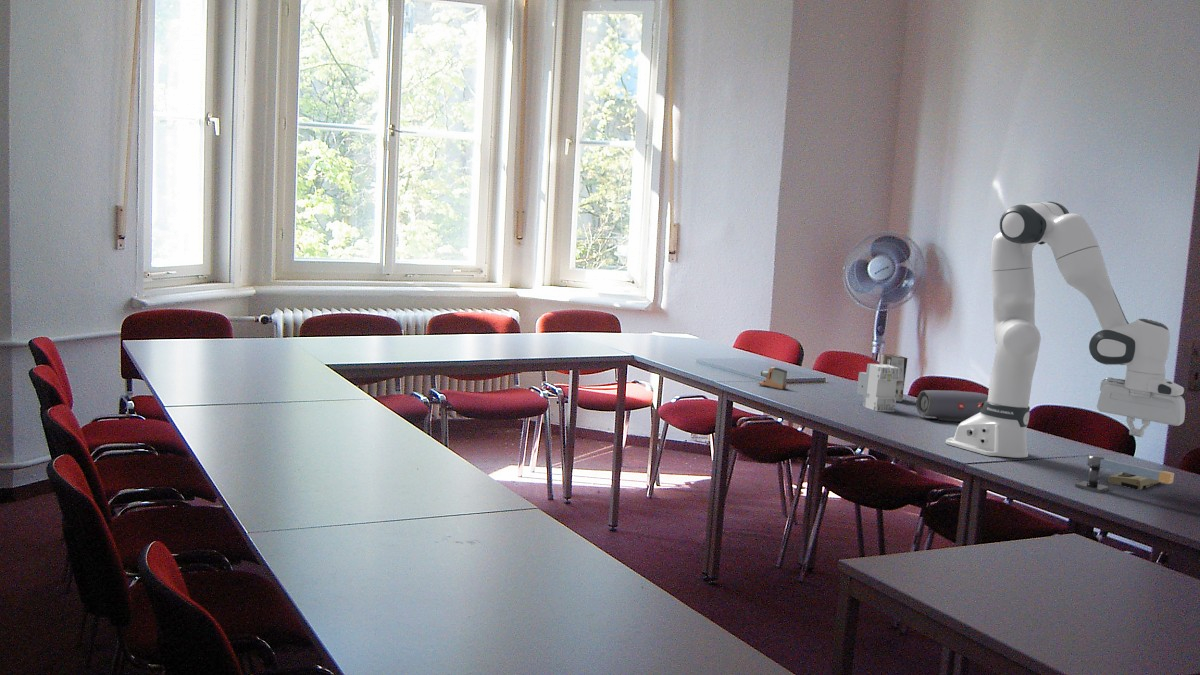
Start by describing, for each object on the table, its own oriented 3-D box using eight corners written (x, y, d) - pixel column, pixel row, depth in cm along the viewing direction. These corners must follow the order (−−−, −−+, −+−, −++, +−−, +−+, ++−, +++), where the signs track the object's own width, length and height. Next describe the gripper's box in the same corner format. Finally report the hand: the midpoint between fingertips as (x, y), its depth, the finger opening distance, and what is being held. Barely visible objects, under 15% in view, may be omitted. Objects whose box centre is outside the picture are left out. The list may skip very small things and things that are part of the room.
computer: (1128, 477, 277) (1130, 465, 277) (1160, 484, 271) (1162, 472, 271) (1106, 484, 266) (1108, 472, 266) (1139, 492, 260) (1141, 479, 260)
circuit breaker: (871, 403, 362) (876, 361, 360) (894, 411, 348) (899, 368, 347) (852, 402, 359) (857, 360, 358) (875, 411, 346) (881, 367, 344)
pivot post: (1075, 486, 258) (1078, 465, 257) (1084, 483, 262) (1087, 463, 261) (1099, 492, 253) (1103, 471, 253) (1108, 489, 258) (1111, 468, 257)
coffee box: (902, 401, 371) (908, 358, 369) (886, 400, 370) (891, 356, 368) (892, 397, 380) (897, 354, 378) (875, 396, 379) (881, 353, 377)
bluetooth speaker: (927, 421, 334) (931, 391, 333) (913, 415, 343) (917, 386, 342) (990, 424, 339) (993, 395, 338) (974, 418, 348) (978, 389, 347)
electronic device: (761, 384, 383) (763, 364, 382) (786, 388, 378) (788, 368, 378) (757, 385, 379) (759, 365, 378) (782, 390, 375) (784, 370, 374)
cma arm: (1084, 464, 257) (1086, 455, 257) (1090, 463, 260) (1092, 454, 259) (1168, 484, 243) (1169, 474, 243) (1173, 482, 245) (1175, 472, 245)
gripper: (1097, 376, 267) (1089, 428, 269) (1183, 390, 253) (1174, 445, 254) (1106, 375, 271) (1098, 426, 273) (1191, 389, 257) (1182, 443, 259)
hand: (1136, 435), depth 264 cm, fingers closed
